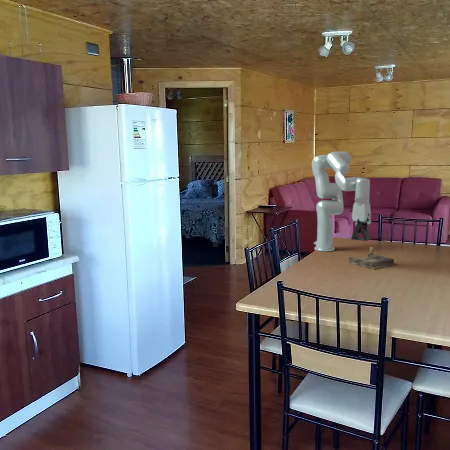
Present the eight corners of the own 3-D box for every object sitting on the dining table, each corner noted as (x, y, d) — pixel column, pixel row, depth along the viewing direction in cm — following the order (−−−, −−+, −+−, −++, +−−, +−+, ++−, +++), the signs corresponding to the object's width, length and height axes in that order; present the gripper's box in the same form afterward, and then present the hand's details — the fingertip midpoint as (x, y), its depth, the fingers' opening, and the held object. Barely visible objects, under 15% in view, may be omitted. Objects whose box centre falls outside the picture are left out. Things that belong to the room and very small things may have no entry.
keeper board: (348, 262, 269) (349, 250, 268) (370, 258, 279) (371, 246, 277) (373, 269, 254) (374, 256, 253) (396, 264, 263) (396, 252, 262)
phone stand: (370, 239, 265) (371, 217, 263) (367, 240, 260) (367, 219, 258) (354, 237, 270) (355, 217, 268) (351, 239, 265) (351, 218, 263)
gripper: (346, 200, 267) (345, 231, 270) (368, 202, 253) (367, 236, 256) (356, 199, 271) (355, 230, 274) (378, 201, 256) (377, 235, 259)
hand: (361, 233), depth 265 cm, fingers closed on phone stand, 3 cm apart
